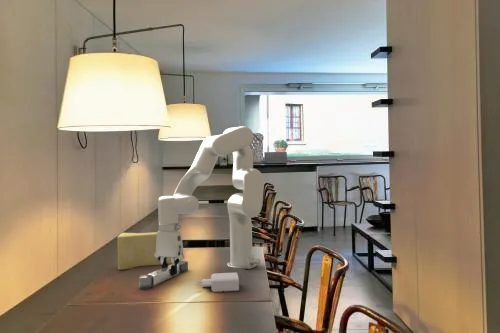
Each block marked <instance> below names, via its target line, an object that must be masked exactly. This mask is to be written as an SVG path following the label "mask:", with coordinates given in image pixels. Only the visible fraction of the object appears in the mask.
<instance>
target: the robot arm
mask: <svg viewBox="0 0 500 333" xmlns="http://www.w3.org/2000/svg"><path fill="white" fill-rule="evenodd" d="M253 140H254V133H253V131H252V129H251V128H250V127H248V126H245V125H241V126H233V127H228V128H226V129H225V130H224V131H223V132H222V134H217V135H209V136H207V137H205V138H204V139H203V141H202V142H201V145H200V146H199V149H198V151H197V153H196V155H195V158H194V160H193V162H192V164H191V166H190V168H189V169H188V170H187V172H186V173H185V175H184V176H183V177H181V179H180V181H179V182H178V184H177V186H176V188H175V190H174V193H173V195H162V196H160V197H159V198H158V201H157V206H158V207H157V209H158V213H157V214H158V231H157V232H158V233H157V238H156V252H155V254H154V256H155V257H156V258H158V260H159V261H160V265H161V269H162V268H164V267H167V266H169V264H168V263H167V257H171V264H170V265H171V276H173V275H175V276H177V275H176V274H177V264H178V263H179V262H180V261H183V260H184V259H185V255H184V246H183V244H184V243H183V237H182V233H181V230H179V229H182V228H181V225H179V214H181V215H182V214H184V215H190V214H194V213H196V212H197V211H198V209H199V207H200V202H199V199H198V198H197V197H196V196H194V195H193V194H194V191H195V190H196V188H197V187H198V186H199V185H200V184H202V183H203V182H205V181H206V180H208V178H209V177H211V174H212V172H213V171H214V169H215V168H214V167H215V166H216V163H217V161H218V159H219V157H223V156H227V155H230V154H232V158H233V159H232V161H233V166H232V174H231V175H232V176H231V177H232V179H231V180H232V181H231V182H232V186H233V187H234V188H235V189H237V190H240V191H242V192H236V193H234V194H231V196H230V197H229V198H228V200H227V213H228V219H229V220H228V221H229V250H230V251H229V254H230V255H229V258H230V261H229V262H227V263H226V266H228V267H231V268H235V269H237V268H240V269H241V268H242V269H243V268H244V269H245V268H246V270H250V269H254V268H256V266H257V265H261V263H262V260H261V258H256V257H255V255H254V254H253V224H252V218H255V217H257V216H258V215H260V213H261V211H262V208H263V201H264V190H265V189H264V188H265V180H264V176H263V174H262V172H261V171H260V170H258V169H257V168H254V155H253V150H252V149H251V148H252V147H251V146H250V145H251V144H252V143H253ZM173 277H174V276H173Z"/></svg>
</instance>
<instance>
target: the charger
mask: <svg viewBox="0 0 500 333" xmlns="http://www.w3.org/2000/svg"><path fill="white" fill-rule="evenodd" d="M239 278H240V277H239V275H238V272H237V271H236V272H222V273H221V272H220V273H218V272H217V273H213V274H210V278H204V279H203V278H202V280H201V281H196V285H201V286H202V288H210V289H211V292H213V293H219V292H221V293H222V292H223V291H224V292H239V291H240V280H239Z"/></svg>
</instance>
